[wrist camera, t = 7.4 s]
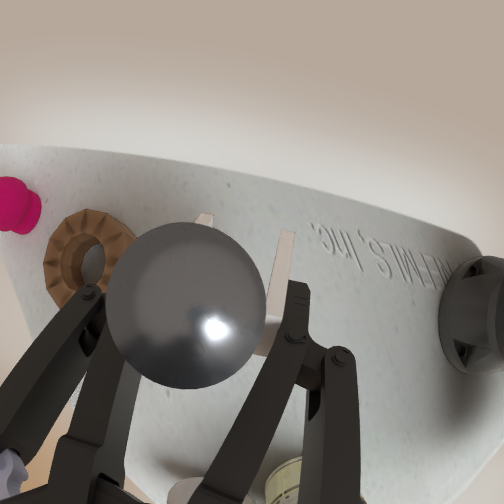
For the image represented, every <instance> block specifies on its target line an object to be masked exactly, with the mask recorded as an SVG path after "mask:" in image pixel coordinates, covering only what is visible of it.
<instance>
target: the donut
mask: <svg viewBox="0 0 504 504" xmlns="http://www.w3.org/2000/svg"><path fill="white" fill-rule="evenodd" d="M203 478H204V477H193V478H187V479H184V480H182V481H179V482H177V483H176V484H175V485H174V486H173V487H172V488H171V489H170V491H169V493H168V498H167V504H187V502H188V501H189V499H190V497H191V496H192V494H193V493H194V491H195V489H196V488H197V487H198V485H199V484H200V483H201V482H202V480H203ZM243 504H256V503H255V501H254V500H253V499H252V497H250V496H249V495H248V494H246V496H245V498H244V501H243Z"/></svg>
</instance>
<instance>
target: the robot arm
mask: <svg viewBox="0 0 504 504" xmlns="http://www.w3.org/2000/svg"><path fill="white" fill-rule="evenodd" d="M213 219H214V215H210V214H205V213H201V214H200V215H199V217H198V218H197V219H196V221H195V222H194V223H197V224H202V225H206V226H209V227H212V228H213ZM294 235H295V232H290V231H286V230H281V234H280V239H279V243H278V248H277V252H276V257H275V261H274V266H273V270H272V275H271V279H270V284H269V288H268V293H267V297H266V319H265V325H264V329H263V333H262V336H261V339H260V341H259V343H258V345H257V347H256V349H255V351H254V354H256V355H260V356H265V357H267V358H266V360H265V362H264V364H263V366H262V368H261V371H260V373H259V375H258V377H257V379H256V381H255V383H254V385H253V387H252V389H251V391H250V393H249V395H248V397H247V399H246V401H245V403H244V405H243V407H242V409H241V411H240V412H239V414H238V416H237V418H236V420H235V422H234V424H233V426H232V428H231V430H230V432H229V433H228V435H227V437H226V439H225V441H224V443H223V445H222V446H221V448H220V450H219V452H218V454H217V456H216V457H215V459H214V461H213V463H212V465H211V466H210V468H209V470H208V472H207V473H206V475H205V477H204V478H203V480H202V482H201V483H200V484H199V485H198V487H197V488H196V489H195V491H194V493H193V494H192V496H191V497H190V499H189V501H188V502H187V504H243V501H244V498H245V496H246V494H247V492H248V490H249V488H250V486H251V484H252V482H253V480H254V478H255V476H256V474H257V471H258V469H259V467H260V465H261V463H262V461H263V458H264V456H265V454H266V452H267V450H268V447H269V445H270V443H271V440H272V438H273V436H274V433H275V431H276V429H277V426H278V424H279V422H280V419H281V417H282V414H283V412H284V409H285V407H286V404H287V402H288V399H289V397H290V394H291V392H292V389H293V386H294V384H297V385H299V386H301V387H303V388H305V389H307V392H306V410H305V426H304V440H303V452H302V463H301V474H300V484H299V493H298V502H297V504H360V474H361V455H360V419H359V400H358V385H357V372H356V361H355V357H354V355H353V354H352V352H351V351H350V350H348V349H347V348H345V347H342V346H333V347H331V348H329V349H327V348H324V347H322V346H320V345H319V344H317V343H315V342H314V341H313V340H312V338H311V337H310V335H309V333H308V323H309V306H310V289H309V287H308V285H307V284H306V283H301V282H297V281H292V280H288V279H289V272H290V265H291V257H292V250H293V243H294ZM439 333H440V339H441V344H442V347H443V350H444V353H445V355H446V357H447V359H448V360H449V362H450V363H451V364H452V365H453V366H454V367H455V368H456V369H457V370H459V371H461V372H464V373H467V374H471V375H478V376H479V375H487V374H491V373H494V372H498V371H501V370H504V259H503V258H498V257H494V256H481V257H478V258H474V259H471V260H468V261H466V262H465V263H463V264H462V265H461V266H459V267H458V269H457V270H456V271H455V272H454V273H453V275H452V276H451V278H450V280H449V282H448V284H447V286H446V288H445V291H444V294H443V297H442V301H441V306H440V313H439ZM86 372H87V373H86ZM85 373H86V376H85V379H84V382H83V385H82V388H81V391H80V394H79V397H78V400H77V403H76V407H75V410H74V413H73V417H72V420H71V424H70V427H69V430H68V432H67V434H65V435H63V436H61V437H60V438H59V440H58V442H57V446H56V449H55V453H54V458H53V461H52V466H51V470H50V475H49V480H48V484H45V485H43V486H40V487H38V488H35V489H32V490H29V491H27V492H24V493H21V494H20V486H21V484H22V482H23V481H26V480H27V479H28V472H27V470H26V469H25V466H26V465H27V464H28V463H29V462H30V461H31V460H32V459H33V457H34V456H35V455H36V454H37V452H38V450H39V449H40V447H41V446H42V444H43V442H44V440H45V439H46V437H47V435H48V433H49V432H50V430H51V428H52V427H53V425H54V423H55V421H56V420H57V418H58V416H59V415H60V413H61V411H62V410H63V408H64V406H65V405H66V403H67V402H68V400H69V398H70V397H71V395H72V394H73V392H74V390H75V389H76V387H77V386H78V384H79V383H80V381H81V379H82V378H83V376H84V375H85ZM141 375H142V374H140V373H139V372H138V371H136V370H135V369H134V368H133V367H132V366H131V365H130V364H129V363H128V362H127V361H126V359H125V358H124V357H123V356H122V354H121V353H120V351H119V350H118V348H117V346H116V345H115V342H114V340H113V338H112V336H111V333H110V330H109V326H108V322H107V316H106V293H102V290H101V288H100V287H99V286H97V285H95V284H87V285H84V286H82V287H81V288H79V289H78V290H77V291H76V292H75V293H74V295H73V296H72V297H71V298H70V299H69V300H68V301H67V302H66V304H65V305H64V306H63V307H62V308H61V309H60V310H59V312H58V313H57V314H56V315H55V316H54V318H53V319H52V320H51V321H50V322H49V323H48V325H47V326H46V327H45V328H44V330H43V331H42V332H41V333H40V334H39V336H38V337H37V338H36V339H35V341H34V342H33V343H32V345H31V346H30V347H29V348H28V350H27V351H26V352H25V354H24V355H23V356H22V358H21V359H20V360H19V362H18V363H17V365H16V366H15V367H14V368H13V370H12V371H11V372H10V374H9V375H8V377H7V378H6V379H5V381H4V382H3V384H2V385H1V387H0V504H149V503H144V502H142V501H141V500H139V499H138V498H136V497H135V496H134V495H132V494H131V493H129V492H127V491H125V490H123V487H124V480H125V469H124V457H125V451H126V446H127V440H128V435H129V430H130V425H131V420H132V415H133V410H134V406H135V401H136V397H137V392H138V388H139V383H140V379H141Z"/></svg>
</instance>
